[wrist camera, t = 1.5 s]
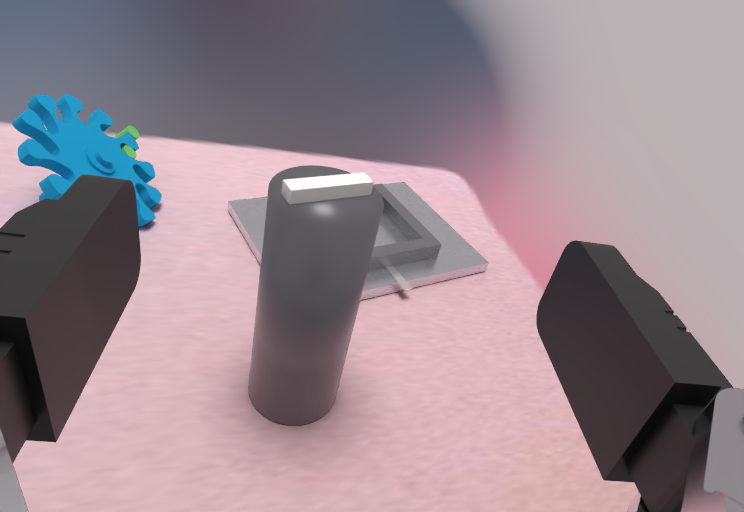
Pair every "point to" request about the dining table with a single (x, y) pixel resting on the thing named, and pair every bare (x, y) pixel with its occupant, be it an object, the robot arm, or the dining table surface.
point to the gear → (82, 150)
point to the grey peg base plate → (389, 242)
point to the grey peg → (310, 288)
